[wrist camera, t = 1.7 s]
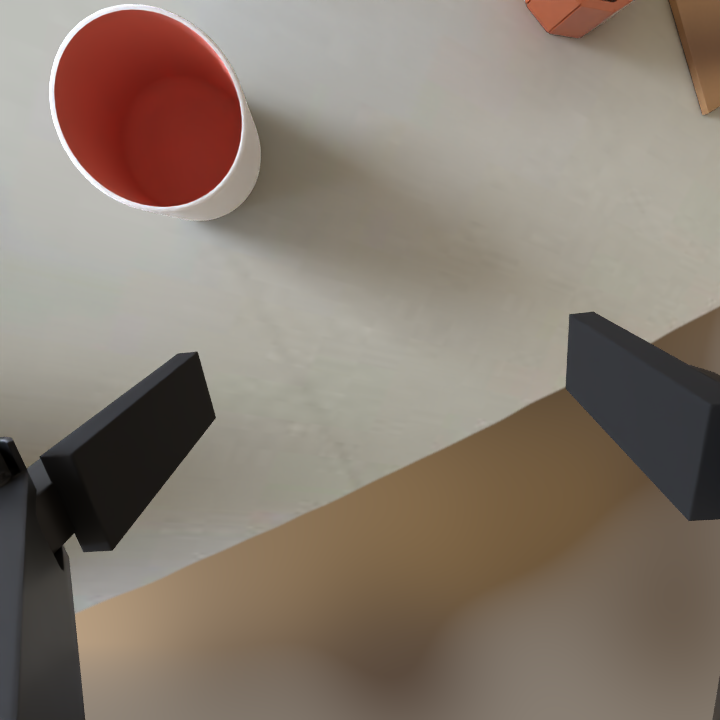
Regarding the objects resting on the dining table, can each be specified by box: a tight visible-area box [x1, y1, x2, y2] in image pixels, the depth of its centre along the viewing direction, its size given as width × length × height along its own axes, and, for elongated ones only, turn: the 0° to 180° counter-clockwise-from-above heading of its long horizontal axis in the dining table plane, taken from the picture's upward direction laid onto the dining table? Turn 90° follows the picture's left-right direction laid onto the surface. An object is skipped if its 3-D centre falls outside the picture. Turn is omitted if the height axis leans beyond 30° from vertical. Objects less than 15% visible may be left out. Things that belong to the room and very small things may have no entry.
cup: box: [49, 4, 261, 221], centre depth 27 cm, size 10×10×10 cm
